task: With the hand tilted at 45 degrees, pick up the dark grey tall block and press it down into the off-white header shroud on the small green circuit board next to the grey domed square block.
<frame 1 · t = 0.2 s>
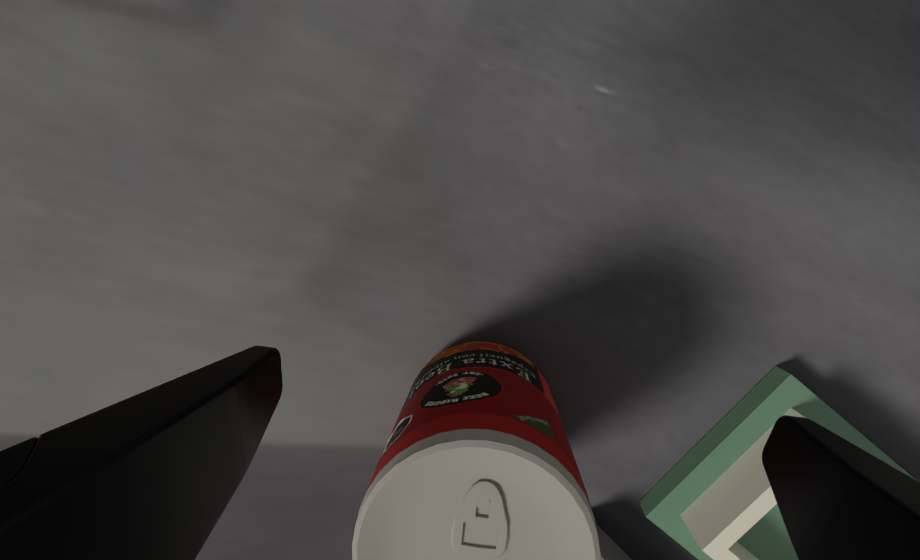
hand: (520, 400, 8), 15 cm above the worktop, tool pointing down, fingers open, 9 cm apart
canned food: (480, 407, 25), on the worktop
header: (776, 495, 25), on the worktop
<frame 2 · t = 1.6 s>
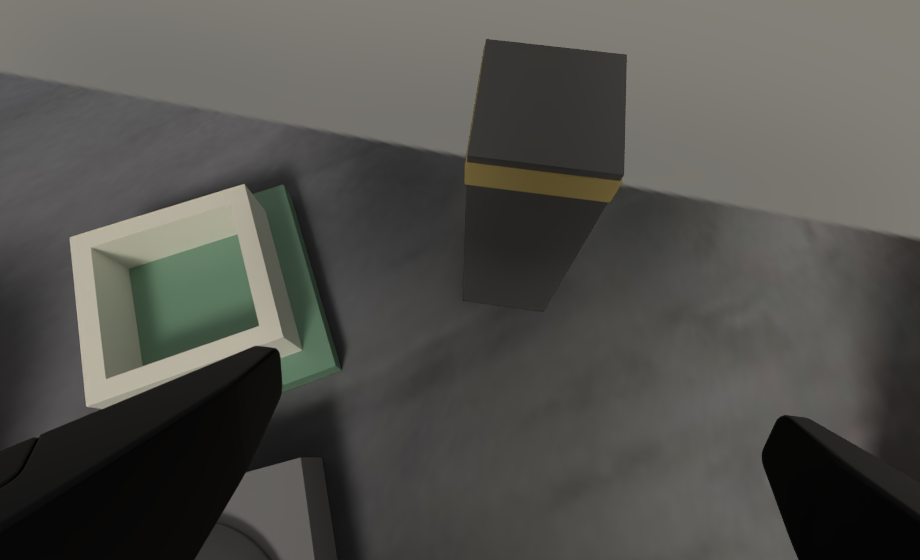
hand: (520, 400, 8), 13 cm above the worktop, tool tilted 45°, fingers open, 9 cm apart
dark grey tall block: (507, 268, 24), on the worktop
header: (215, 311, 23), on the worktop
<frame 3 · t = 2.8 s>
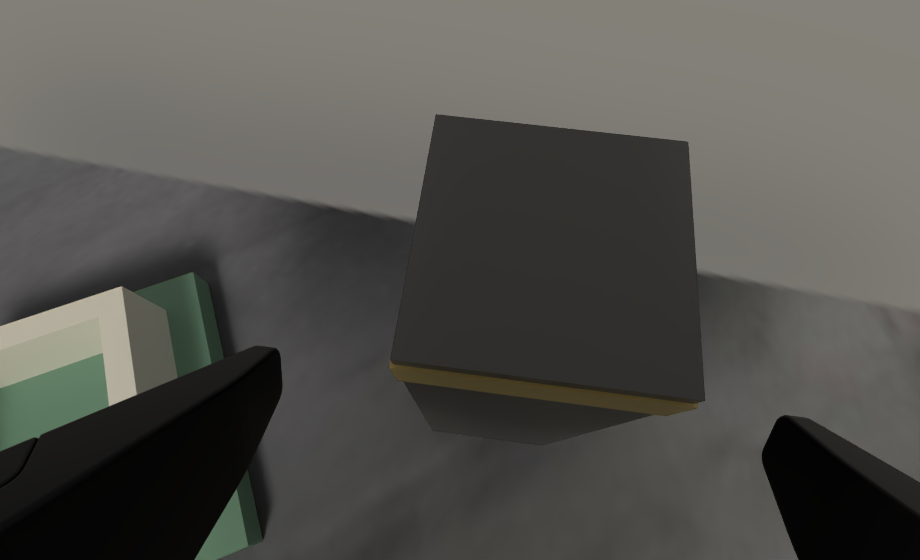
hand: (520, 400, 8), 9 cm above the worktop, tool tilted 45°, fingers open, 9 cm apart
dark grey tall block: (492, 382, 18), on the worktop
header: (93, 451, 17), on the worktop
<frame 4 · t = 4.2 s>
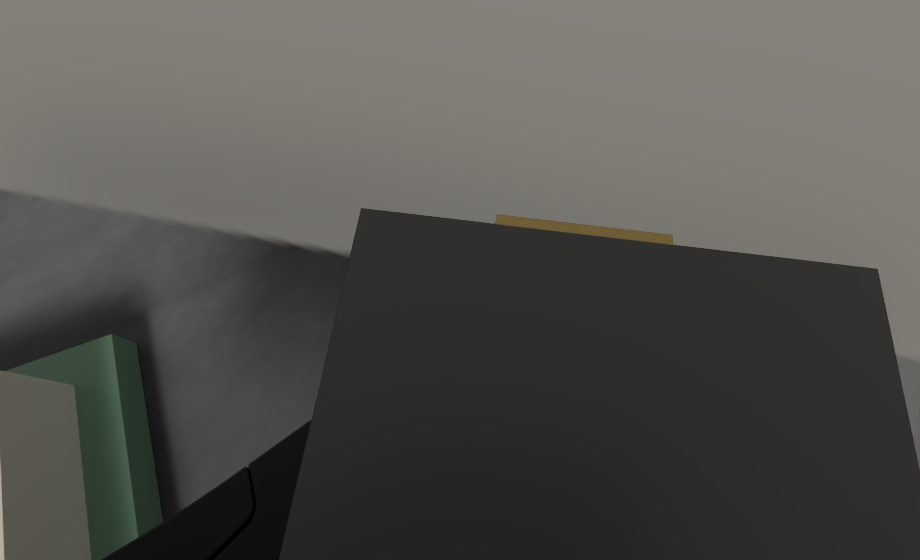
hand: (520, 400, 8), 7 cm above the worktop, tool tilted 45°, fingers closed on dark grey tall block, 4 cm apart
dark grey tall block: (488, 474, 14), on the worktop, touching gripper
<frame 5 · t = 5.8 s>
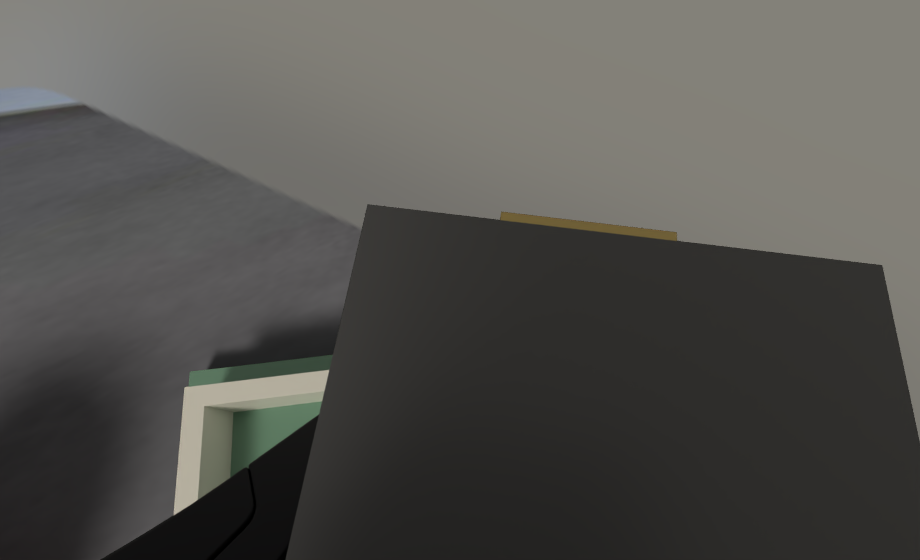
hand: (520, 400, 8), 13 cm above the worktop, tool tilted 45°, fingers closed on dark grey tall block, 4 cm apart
dark grey tall block: (490, 473, 14), point 7 cm above the worktop, touching gripper
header: (312, 477, 20), on the worktop
when the fingers open (9 cm above the worktop, at t = 7.7 s): dark grey tall block stays where it is, resting on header.
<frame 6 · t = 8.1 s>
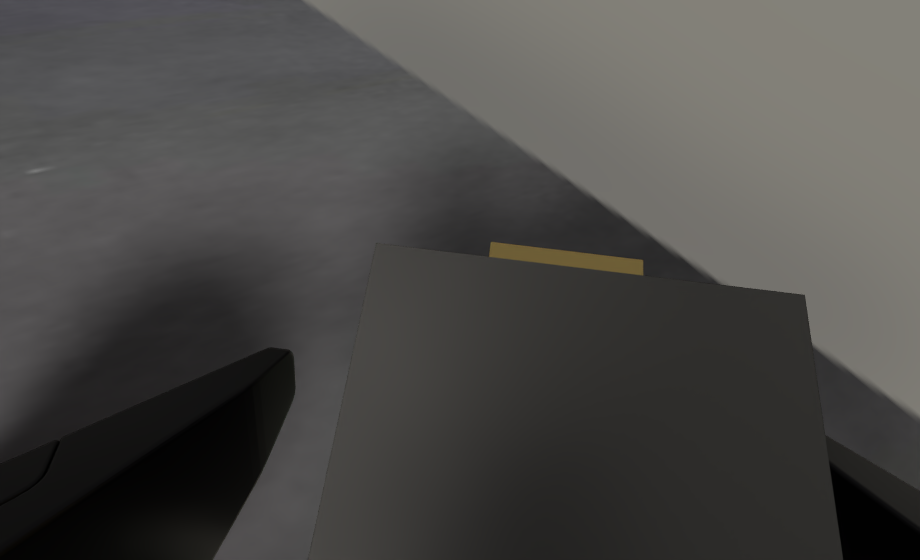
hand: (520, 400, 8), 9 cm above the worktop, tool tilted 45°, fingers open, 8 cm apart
dark grey tall block: (487, 472, 15), point 1 cm above the worktop, touching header
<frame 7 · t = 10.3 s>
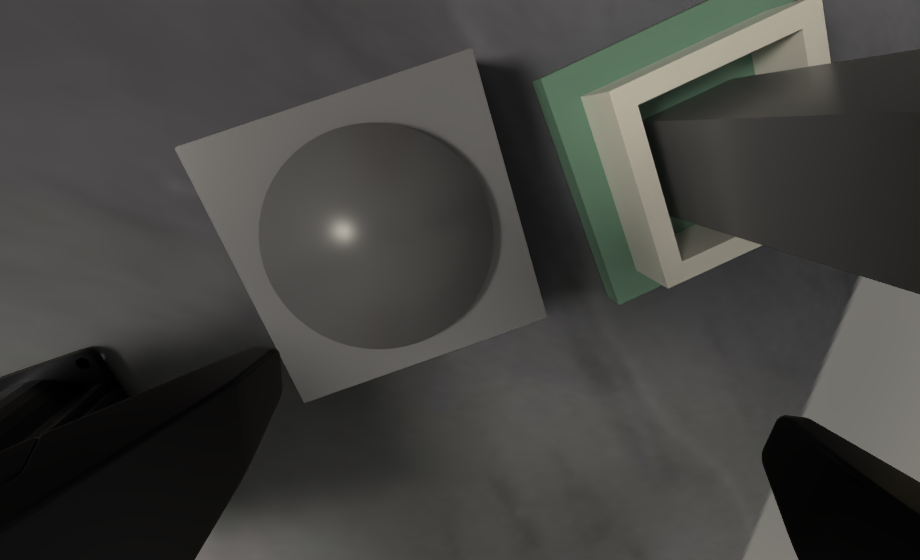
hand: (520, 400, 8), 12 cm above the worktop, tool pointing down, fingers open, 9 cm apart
grey domed square block: (382, 225, 19), on the worktop
dark grey tall block: (696, 148, 19), point 1 cm above the worktop, touching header
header: (679, 148, 20), on the worktop
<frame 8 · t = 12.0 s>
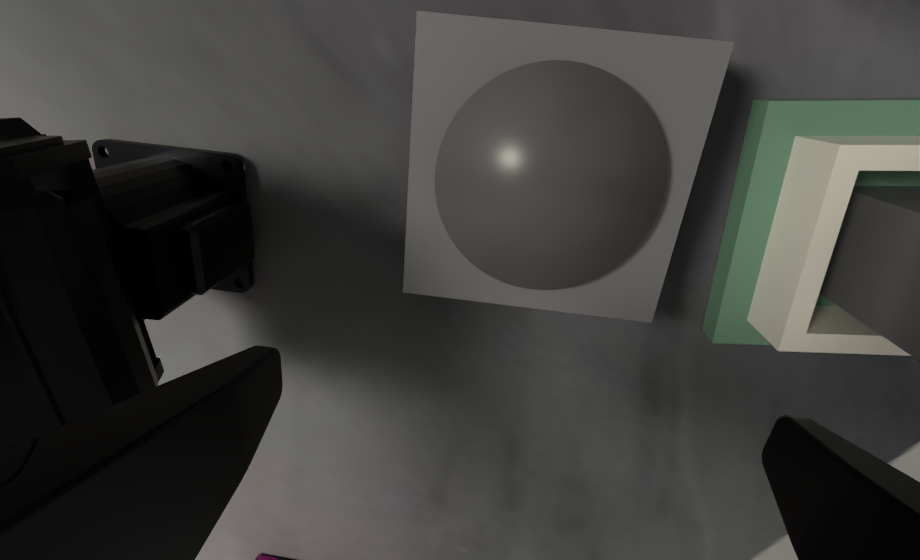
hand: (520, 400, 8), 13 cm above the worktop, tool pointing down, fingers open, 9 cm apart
grey domed square block: (540, 168, 20), on the worktop
dark grey tall block: (872, 236, 18), point 1 cm above the worktop, touching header
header: (850, 228, 19), on the worktop
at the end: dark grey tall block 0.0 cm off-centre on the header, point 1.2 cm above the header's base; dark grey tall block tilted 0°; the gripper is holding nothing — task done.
